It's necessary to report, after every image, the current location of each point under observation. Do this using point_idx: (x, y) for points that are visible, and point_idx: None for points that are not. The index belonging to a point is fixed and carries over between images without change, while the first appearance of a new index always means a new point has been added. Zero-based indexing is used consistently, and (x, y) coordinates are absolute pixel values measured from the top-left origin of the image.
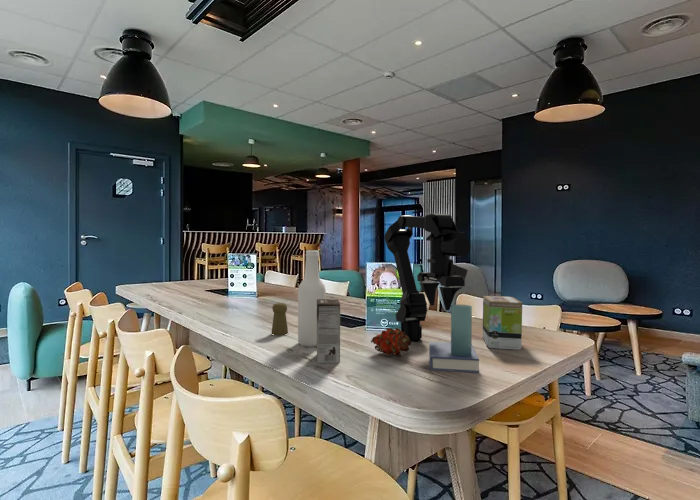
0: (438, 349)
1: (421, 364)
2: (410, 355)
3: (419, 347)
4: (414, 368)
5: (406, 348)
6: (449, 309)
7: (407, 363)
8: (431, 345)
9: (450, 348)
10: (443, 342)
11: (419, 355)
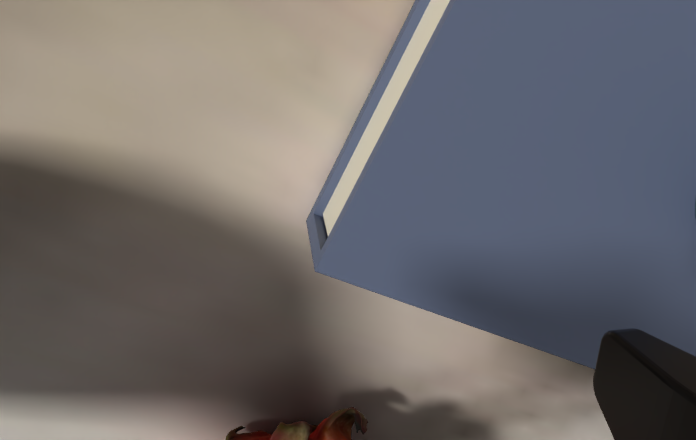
0: (586, 297)
1: (542, 361)
2: (332, 366)
3: (104, 231)
4: (590, 415)
5: (339, 430)
6: (641, 333)
7: (492, 425)
8: (456, 304)
9: (606, 193)
10: (390, 157)
11: (349, 310)
